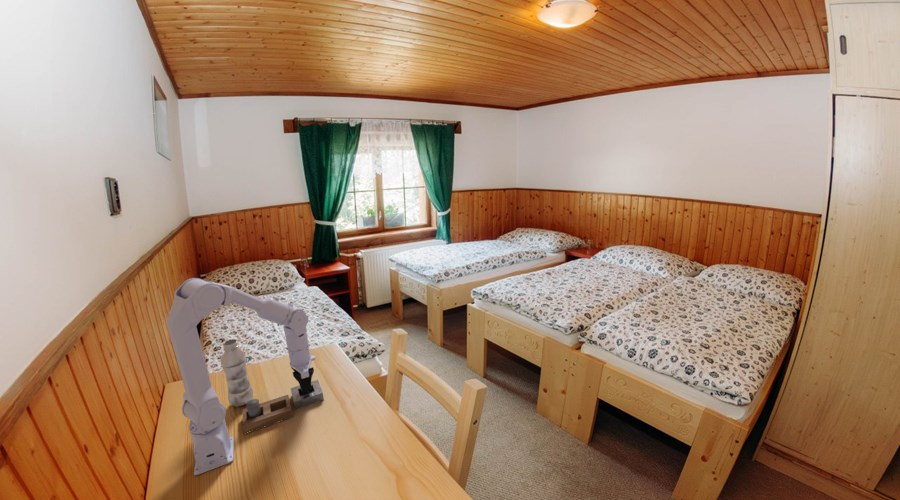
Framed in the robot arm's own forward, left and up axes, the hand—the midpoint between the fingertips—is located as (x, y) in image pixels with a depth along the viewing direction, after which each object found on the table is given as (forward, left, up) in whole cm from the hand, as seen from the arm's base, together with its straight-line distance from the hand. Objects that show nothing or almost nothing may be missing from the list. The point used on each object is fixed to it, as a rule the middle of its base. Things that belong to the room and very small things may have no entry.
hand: (305, 387), depth 113 cm
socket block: (0, 0, -3) cm, 3 cm away
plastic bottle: (+9, +17, -3) cm, 20 cm away
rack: (-3, +11, -3) cm, 12 cm away
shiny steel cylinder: (0, 0, -3) cm, 3 cm away
